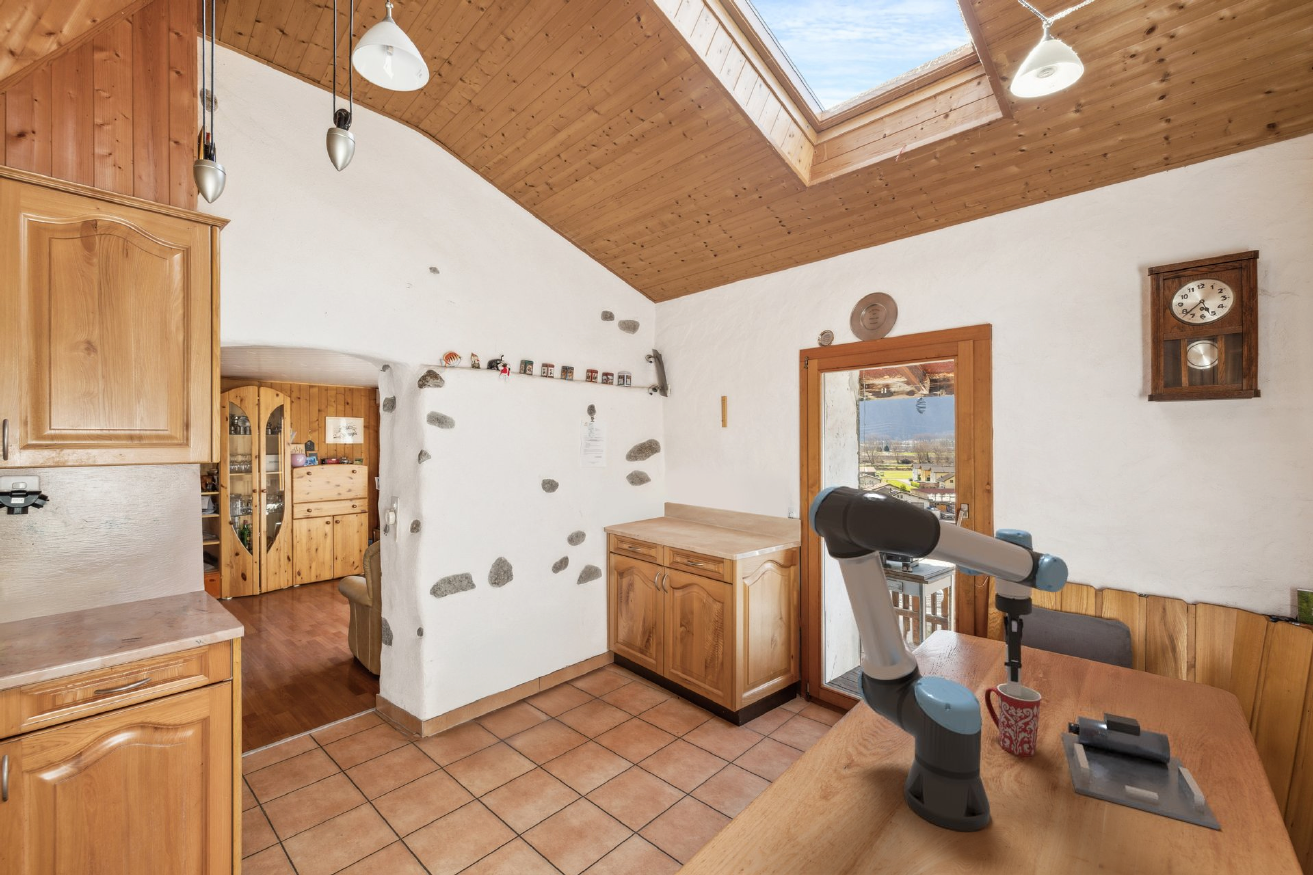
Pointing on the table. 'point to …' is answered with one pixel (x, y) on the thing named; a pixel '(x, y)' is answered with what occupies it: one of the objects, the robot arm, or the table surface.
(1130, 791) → the plate
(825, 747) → the table surface
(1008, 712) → the mug
